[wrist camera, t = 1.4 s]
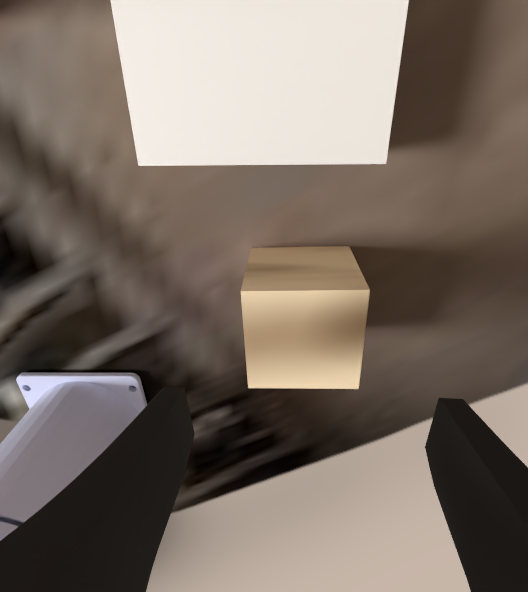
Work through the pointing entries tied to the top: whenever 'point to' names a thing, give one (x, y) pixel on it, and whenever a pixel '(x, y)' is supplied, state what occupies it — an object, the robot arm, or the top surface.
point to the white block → (260, 79)
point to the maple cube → (304, 317)
